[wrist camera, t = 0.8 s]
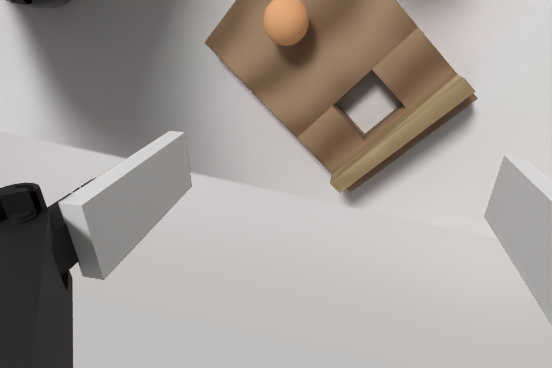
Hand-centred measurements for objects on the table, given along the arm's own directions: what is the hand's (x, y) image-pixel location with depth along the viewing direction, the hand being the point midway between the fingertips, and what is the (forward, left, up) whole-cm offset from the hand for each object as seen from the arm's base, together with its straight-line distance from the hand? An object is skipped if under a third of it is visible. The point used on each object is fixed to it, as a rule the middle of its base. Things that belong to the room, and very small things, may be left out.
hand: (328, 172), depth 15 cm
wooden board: (-2, 0, -24) cm, 24 cm away
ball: (-8, 0, -19) cm, 21 cm away
